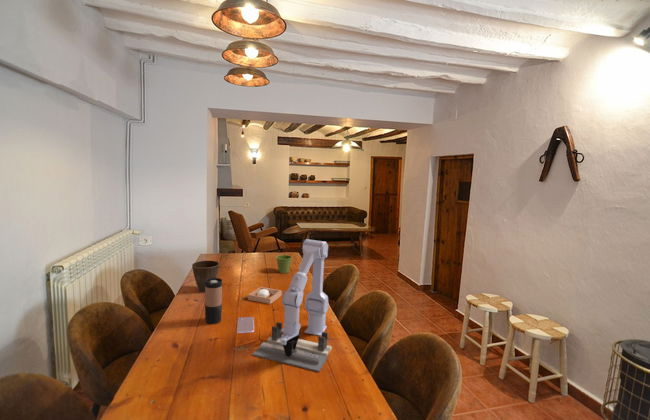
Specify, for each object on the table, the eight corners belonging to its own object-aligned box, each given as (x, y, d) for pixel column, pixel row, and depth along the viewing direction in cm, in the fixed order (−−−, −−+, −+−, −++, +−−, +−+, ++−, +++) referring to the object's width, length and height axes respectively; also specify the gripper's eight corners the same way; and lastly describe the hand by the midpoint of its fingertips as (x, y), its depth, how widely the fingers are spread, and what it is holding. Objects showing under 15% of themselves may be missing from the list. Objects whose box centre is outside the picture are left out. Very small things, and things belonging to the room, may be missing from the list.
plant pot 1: (197, 296, 182) (197, 269, 180) (188, 288, 193) (188, 262, 191) (222, 291, 192) (223, 265, 190) (212, 284, 203) (213, 259, 201)
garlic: (260, 293, 193) (260, 286, 193) (271, 294, 192) (271, 288, 191) (255, 297, 185) (255, 291, 185) (266, 299, 184) (266, 292, 184)
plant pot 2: (283, 268, 243) (283, 253, 242) (295, 272, 236) (295, 257, 235) (271, 272, 233) (272, 256, 232) (283, 275, 226) (284, 260, 225)
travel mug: (217, 316, 160) (217, 276, 157) (224, 321, 154) (225, 281, 152) (202, 320, 154) (202, 279, 152) (209, 326, 149) (209, 284, 147)
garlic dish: (260, 291, 195) (260, 286, 194) (281, 295, 190) (281, 290, 190) (247, 299, 181) (247, 294, 181) (270, 304, 177) (270, 298, 177)
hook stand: (273, 335, 143) (274, 320, 143) (331, 348, 135) (332, 333, 134) (266, 342, 138) (267, 326, 137) (327, 356, 129) (328, 339, 129)
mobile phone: (236, 332, 144) (237, 317, 158) (236, 334, 144) (237, 318, 158) (254, 330, 146) (253, 316, 160) (254, 333, 146) (253, 318, 160)
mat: (264, 343, 137) (264, 341, 137) (327, 357, 128) (327, 356, 128) (252, 355, 127) (252, 353, 127) (319, 372, 119) (319, 370, 119)
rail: (263, 347, 133) (263, 342, 132) (320, 361, 125) (321, 355, 125) (260, 349, 131) (260, 344, 130) (318, 364, 123) (319, 358, 123)
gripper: (289, 311, 134) (288, 342, 136) (273, 326, 121) (272, 360, 122) (305, 314, 132) (304, 345, 134) (291, 330, 118) (289, 365, 120)
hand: (290, 353), depth 128 cm, fingers open, 3 cm apart
